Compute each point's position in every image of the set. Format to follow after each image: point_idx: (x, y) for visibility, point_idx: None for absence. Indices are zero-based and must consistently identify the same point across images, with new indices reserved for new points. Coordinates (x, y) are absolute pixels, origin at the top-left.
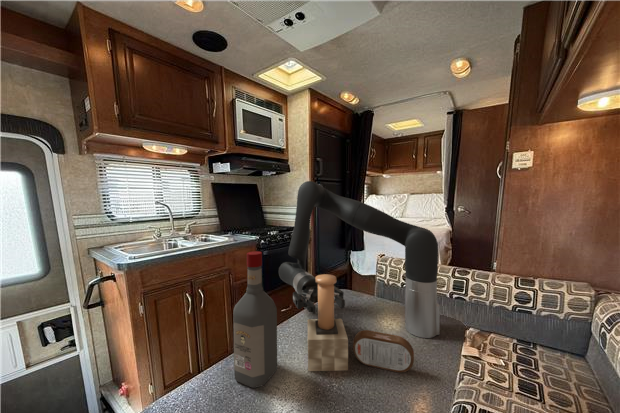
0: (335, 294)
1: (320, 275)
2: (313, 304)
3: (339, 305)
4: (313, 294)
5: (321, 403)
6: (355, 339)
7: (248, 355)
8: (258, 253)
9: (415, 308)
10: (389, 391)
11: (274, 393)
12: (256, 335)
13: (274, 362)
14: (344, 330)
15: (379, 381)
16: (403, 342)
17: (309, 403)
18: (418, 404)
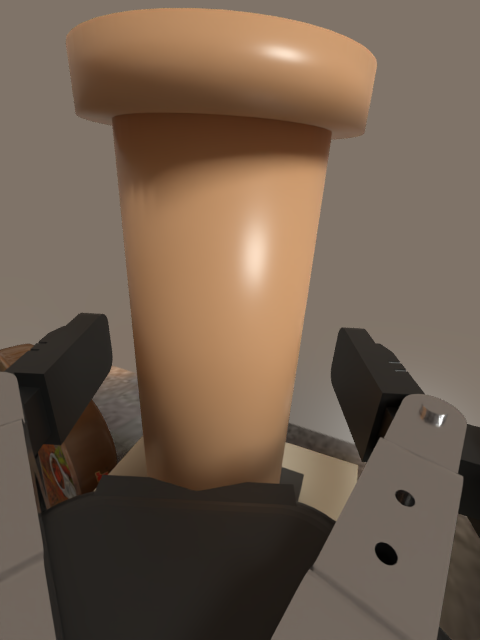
0: (15, 385)
1: (260, 30)
2: (353, 335)
3: (96, 380)
4: (306, 522)
5: (311, 438)
6: (107, 444)
7: None
8: None
9: None
10: (136, 405)
11: (457, 516)
12: None
13: None
14: (128, 457)
15: (127, 431)
16: (17, 345)
17: (342, 448)
18: (118, 372)
